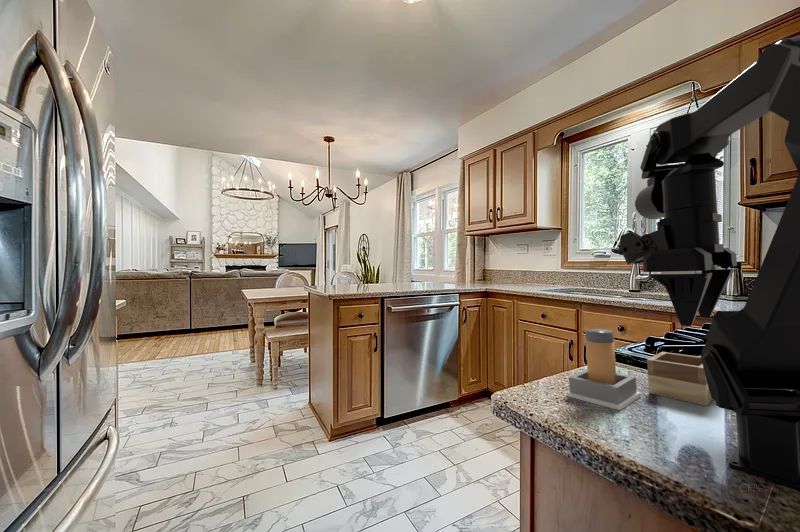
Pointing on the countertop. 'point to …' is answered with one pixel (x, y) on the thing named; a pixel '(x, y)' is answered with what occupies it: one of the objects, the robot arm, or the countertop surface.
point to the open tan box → (678, 377)
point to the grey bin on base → (604, 390)
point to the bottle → (600, 356)
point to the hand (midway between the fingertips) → (696, 321)
